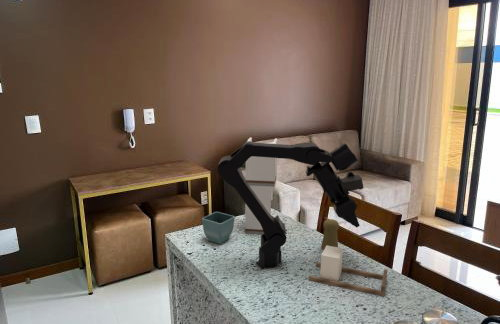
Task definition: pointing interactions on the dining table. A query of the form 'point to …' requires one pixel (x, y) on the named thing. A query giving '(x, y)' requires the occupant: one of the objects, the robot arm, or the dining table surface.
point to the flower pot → (218, 226)
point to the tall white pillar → (260, 187)
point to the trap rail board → (351, 286)
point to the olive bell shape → (330, 233)
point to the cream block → (331, 263)
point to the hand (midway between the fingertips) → (354, 220)
